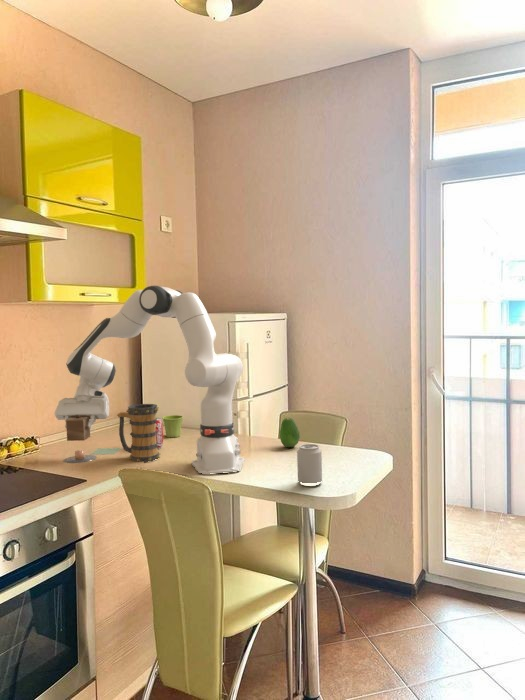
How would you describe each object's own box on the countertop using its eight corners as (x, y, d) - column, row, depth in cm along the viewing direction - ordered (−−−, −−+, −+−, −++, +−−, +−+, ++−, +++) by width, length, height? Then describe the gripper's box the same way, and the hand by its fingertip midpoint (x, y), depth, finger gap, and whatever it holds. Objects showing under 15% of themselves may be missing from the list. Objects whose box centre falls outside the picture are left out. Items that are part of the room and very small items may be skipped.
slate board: (93, 463, 205) (93, 461, 205) (59, 465, 203) (59, 463, 203) (99, 455, 217) (99, 454, 217) (67, 457, 215) (67, 456, 215)
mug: (153, 464, 201) (150, 409, 200) (110, 462, 205) (107, 408, 204) (167, 455, 213) (165, 403, 212) (127, 453, 217) (125, 403, 216)
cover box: (73, 436, 213) (72, 413, 212) (90, 436, 213) (89, 413, 212) (67, 440, 207) (65, 416, 206) (84, 440, 206) (82, 416, 206)
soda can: (165, 446, 229) (164, 417, 228) (160, 450, 222) (159, 420, 221) (148, 446, 230) (147, 417, 229) (143, 450, 223) (142, 420, 222)
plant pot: (188, 435, 250) (187, 416, 249) (174, 439, 242) (173, 419, 241) (172, 433, 254) (171, 414, 254) (158, 437, 247) (157, 418, 246)
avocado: (276, 447, 220) (275, 417, 220) (290, 444, 225) (289, 415, 225) (289, 451, 214) (288, 420, 213) (304, 447, 219) (303, 417, 218)
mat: (114, 455, 216) (114, 454, 216) (89, 455, 217) (89, 454, 217) (122, 449, 226) (122, 448, 226) (98, 449, 227) (98, 448, 227)
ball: (83, 459, 208) (83, 451, 208) (74, 460, 208) (73, 452, 208) (85, 457, 212) (85, 449, 212) (76, 458, 211) (75, 450, 211)
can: (320, 480, 175) (319, 442, 174) (324, 487, 167) (323, 447, 167) (296, 481, 174) (295, 443, 174) (299, 488, 167) (298, 448, 166)
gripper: (57, 393, 216) (47, 423, 207) (109, 392, 215) (101, 422, 206) (62, 403, 221) (53, 432, 212) (113, 402, 220) (106, 431, 211)
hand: (77, 427), depth 209 cm, fingers closed on cover box, 6 cm apart
